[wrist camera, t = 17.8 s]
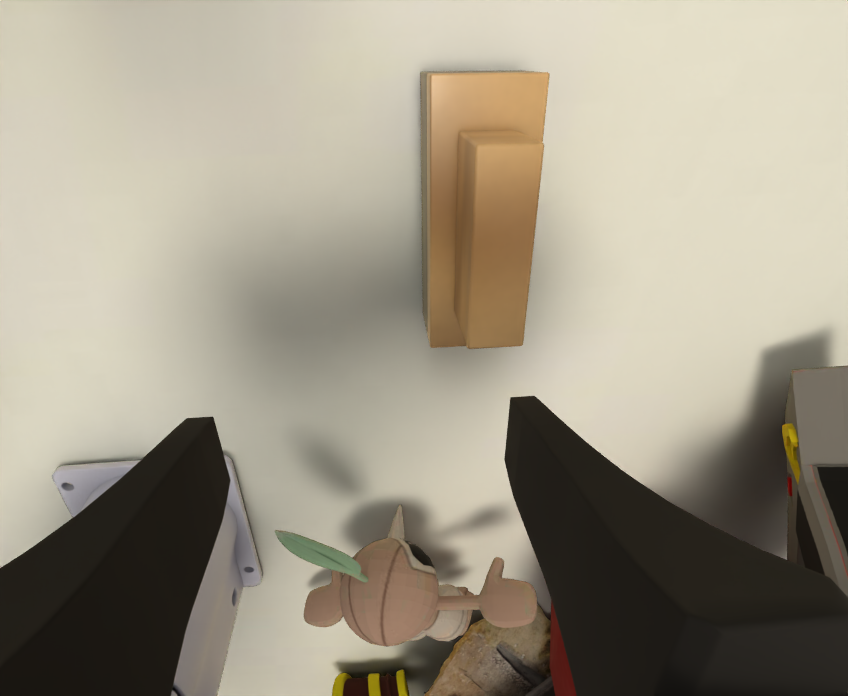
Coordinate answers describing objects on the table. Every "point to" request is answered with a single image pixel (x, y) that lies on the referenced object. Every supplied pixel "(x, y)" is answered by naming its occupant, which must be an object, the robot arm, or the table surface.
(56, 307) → the table surface
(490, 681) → the driftwood
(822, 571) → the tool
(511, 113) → the brush
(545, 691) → the hard drive
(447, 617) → the toy
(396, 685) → the opera glasses
